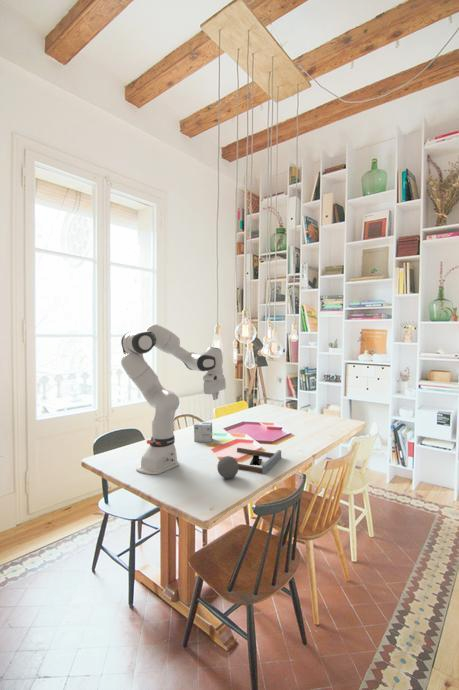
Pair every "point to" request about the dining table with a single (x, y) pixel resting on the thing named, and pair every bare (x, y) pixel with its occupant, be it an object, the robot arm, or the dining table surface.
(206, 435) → the light bulb box
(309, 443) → the dining table surface
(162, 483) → the dining table surface
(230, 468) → the decorative ball
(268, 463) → the frame
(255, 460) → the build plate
